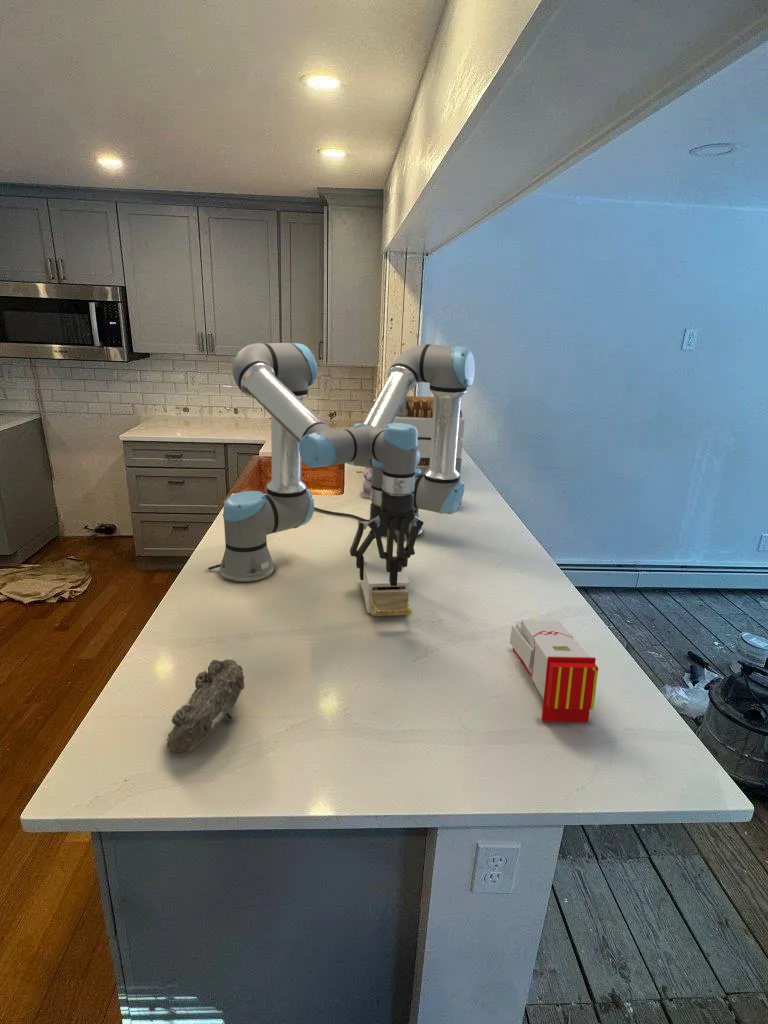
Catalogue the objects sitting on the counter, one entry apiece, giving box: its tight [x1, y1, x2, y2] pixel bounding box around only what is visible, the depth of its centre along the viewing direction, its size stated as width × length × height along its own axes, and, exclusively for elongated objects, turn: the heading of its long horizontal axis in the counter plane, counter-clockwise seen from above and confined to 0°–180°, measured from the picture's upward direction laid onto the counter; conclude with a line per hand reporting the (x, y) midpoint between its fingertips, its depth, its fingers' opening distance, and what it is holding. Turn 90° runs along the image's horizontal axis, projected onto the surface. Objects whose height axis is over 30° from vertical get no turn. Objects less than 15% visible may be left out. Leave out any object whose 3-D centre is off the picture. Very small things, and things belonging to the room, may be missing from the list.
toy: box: [509, 619, 599, 723], centre depth 122 cm, size 12×13×30 cm
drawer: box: [370, 586, 413, 617], centre depth 148 cm, size 21×9×6 cm, turn 8°
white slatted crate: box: [393, 395, 465, 481], centre depth 268 cm, size 34×33×41 cm
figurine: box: [361, 467, 372, 499], centre depth 237 cm, size 9×10×15 cm
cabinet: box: [360, 555, 410, 614], centre depth 154 cm, size 17×10×9 cm, turn 8°
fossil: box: [166, 658, 245, 754], centre depth 106 cm, size 22×10×15 cm
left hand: (393, 583), depth 139 cm, fingers closed
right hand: (381, 577), depth 159 cm, fingers closed on cabinet, 10 cm apart
